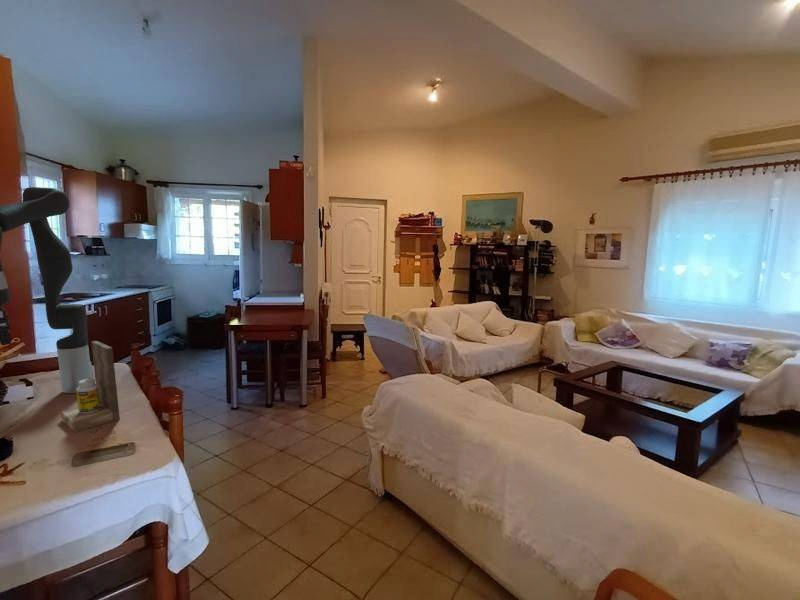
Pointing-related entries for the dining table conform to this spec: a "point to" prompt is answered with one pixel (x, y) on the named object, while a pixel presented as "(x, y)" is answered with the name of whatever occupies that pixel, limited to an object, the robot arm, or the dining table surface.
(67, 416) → the wooden bookend
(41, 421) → the dining table surface
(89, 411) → the supplement bottle
